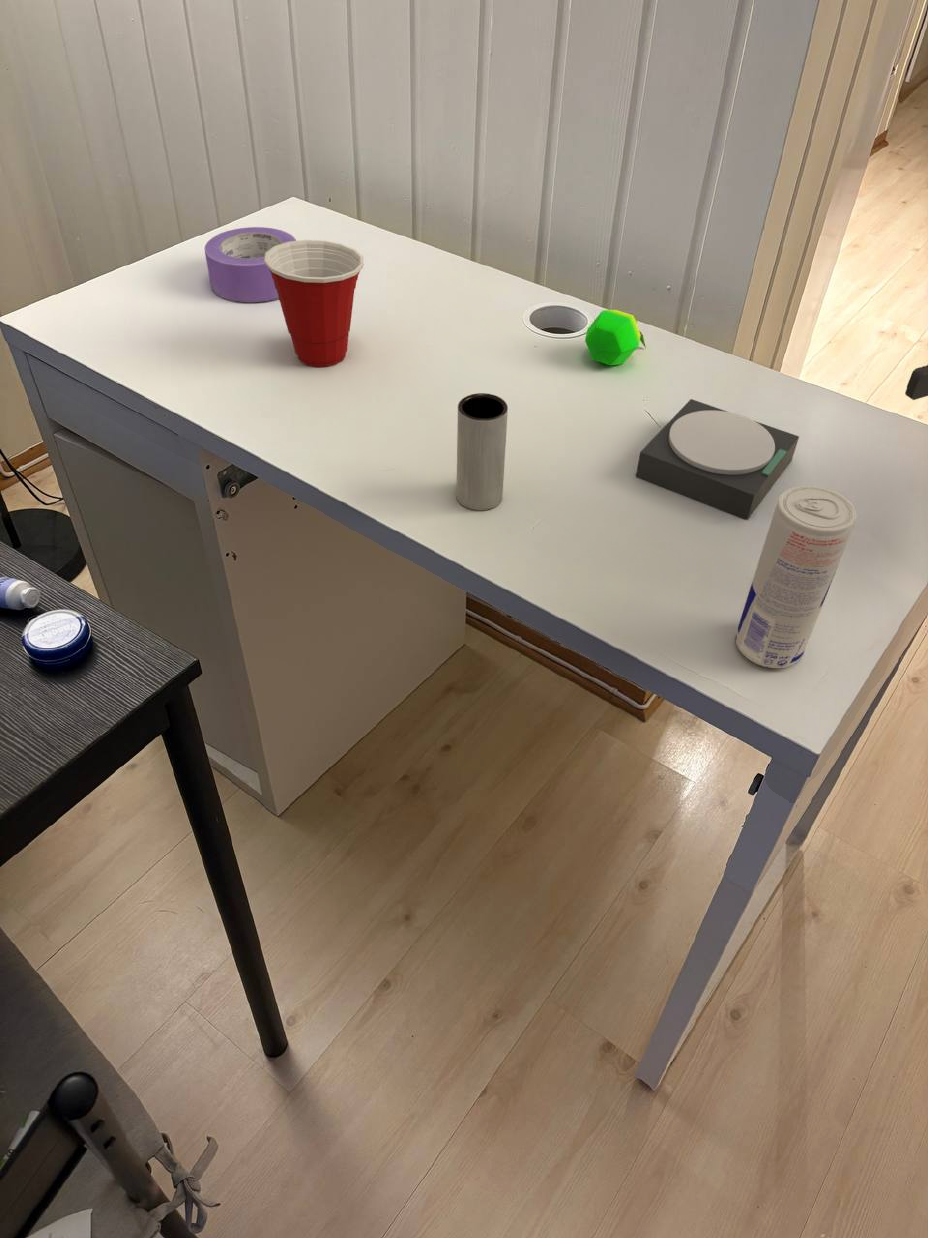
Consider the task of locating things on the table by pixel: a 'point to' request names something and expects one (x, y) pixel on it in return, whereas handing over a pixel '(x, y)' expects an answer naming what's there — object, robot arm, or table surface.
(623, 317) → the apple
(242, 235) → the tape roll
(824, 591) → the beverage can
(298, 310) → the plastic cup
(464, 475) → the grey cylindrical tube
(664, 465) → the scale
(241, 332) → the table surface
